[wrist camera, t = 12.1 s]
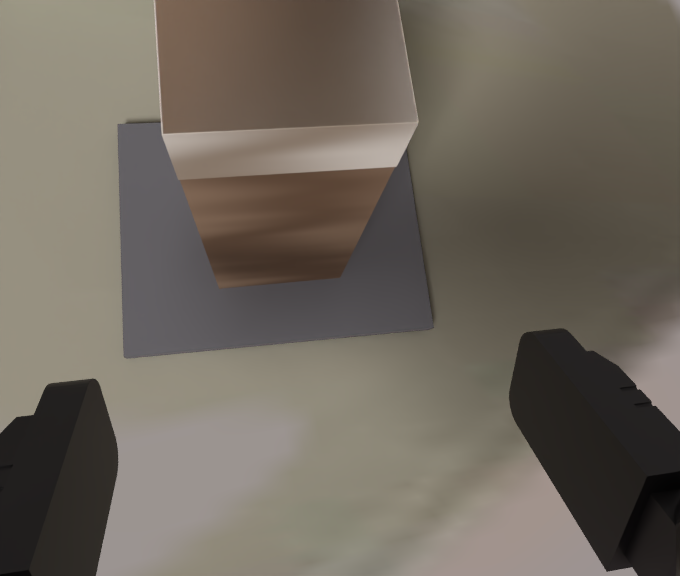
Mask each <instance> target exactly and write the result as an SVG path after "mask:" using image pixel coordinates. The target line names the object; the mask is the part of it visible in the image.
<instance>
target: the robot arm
mask: <svg viewBox="0 0 680 576" xmlns="http://www.w3.org/2000/svg"><path fill="white" fill-rule="evenodd" d="M509 401H510V408H511V412H512V415H513V418H514V420H515V422H516V424H517V425H518V427H519V429H520V430H521V432H522V434H523V435H524V437H525V439H526V440H527V442H528V443H529V445H530V447H531V448H532V450H533V452H534V453H535V455H536V457H537V458H538V460H539V461H540V463H541V465H542V466H543V468H544V470H545V471H546V473H547V475H548V476H549V478H550V479H551V481H552V483H553V484H554V486H555V488H556V489H557V491H558V492H559V494H560V496H561V497H562V499H563V501H564V502H565V504H566V505H567V507H568V509H569V511H570V512H571V514H572V515H573V517H574V519H575V520H576V522H577V524H578V525H579V527H580V528H581V530H582V532H583V533H584V535H585V537H586V538H587V540H588V541H589V543H590V545H591V547H592V548H593V550H594V551H595V553H596V555H597V556H598V558H599V560H600V561H601V563H602V564H603V566H604V568H605V569H606V571H613V570H618V569H624V568H630V567H633V569H634V570H635V572H636V573H637V575H638V576H680V431H679V430H678V429H677V428H676V427H675V426H674V425H673V424H672V423H671V422H670V421H669V420H668V419H667V418H666V416H665V415H664V414H663V413H662V412H661V411H660V410H659V409H658V408H657V407H656V406H652V404H651V400H650V399H649V398H648V397H646V395H645V394H644V393H643V392H642V391H641V390H637V388H636V385H635V383H634V382H633V381H632V380H631V379H630V378H629V377H628V376H627V375H626V374H625V373H624V372H623V371H622V370H621V369H620V368H619V366H617V365H615V364H614V363H612V362H610V361H609V360H607V359H606V358H604V357H602V356H601V355H599V354H597V353H596V352H594V351H586V350H585V349H584V348H583V347H582V346H581V345H580V344H579V342H578V341H577V340H576V339H575V338H574V337H573V336H572V335H571V334H570V333H569V332H568V331H567V330H566V329H551V330H542V331H533V332H526V333H524V334H523V335H522V337H521V339H520V343H519V348H518V352H517V357H516V362H515V367H514V372H513V377H512V381H511V386H510V392H509ZM117 471H118V448H117V442H116V438H115V434H114V431H113V428H112V424H111V421H110V418H109V414H108V411H107V408H106V404H105V401H104V398H103V395H102V391H101V388H100V385H99V383H98V381H97V380H96V379H86V380H77V381H68V382H59V383H51V384H48V385H47V386H46V388H45V390H44V392H43V394H42V396H41V399H40V401H39V404H38V406H37V408H36V411H35V413H34V415H31V416H22V417H16V418H15V419H14V420H13V421H12V422H11V423H10V424H9V425H8V426H7V427H6V428H5V429H4V430H3V431H2V432H1V433H0V576H96V572H97V567H98V562H99V558H100V553H101V548H102V543H103V539H104V534H105V529H106V524H107V520H108V514H109V510H110V505H111V500H112V496H113V491H114V486H115V481H116V477H117Z"/></svg>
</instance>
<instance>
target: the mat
mask: <svg viewBox="0 0 680 576" xmlns="http://www.w3.org/2000/svg"><path fill="white" fill-rule="evenodd" d="M118 158H119V196H120V234H121V272H122V310H123V348H124V357H125V358H137V357H148V356H158V355H168V354H179V353H189V352H200V351H210V350H221V349H231V348H241V347H252V346H262V345H273V344H283V343H293V342H304V341H314V340H325V339H335V338H346V337H356V336H366V335H377V334H387V333H398V332H408V331H418V330H429V329H432V328H434V326H433V320H432V313H431V307H430V300H429V294H428V287H427V281H426V274H425V268H424V261H423V255H422V248H421V242H420V235H419V229H418V222H417V216H416V209H415V203H414V196H413V189H412V183H411V176H410V170H409V163H408V157H407V150H406V149H405V151H404V153H403V155H402V157H401V159H400V161H399V163H398V165H397V167H395V168H394V170H393V172H392V174H391V176H390V178H389V180H388V182H387V184H386V186H385V188H384V190H383V192H382V194H381V196H380V198H379V200H378V202H377V204H376V206H375V208H374V210H373V212H372V214H371V216H370V218H369V220H368V222H367V224H366V226H365V228H364V230H363V233H362V235H361V237H360V239H359V241H358V243H357V245H356V247H355V249H354V251H353V253H352V255H351V257H350V259H349V261H348V263H347V265H346V267H345V269H344V271H343V273H342V275H341V277H340V278H333V279H322V280H310V281H299V282H288V283H277V284H266V285H255V286H244V287H233V288H222V289H219V287H218V284H217V281H216V279H215V276H214V273H213V270H212V267H211V265H210V262H209V259H208V256H207V254H206V251H205V248H204V245H203V243H202V240H201V237H200V234H199V232H198V229H197V226H196V223H195V221H194V218H193V215H192V212H191V210H190V207H189V204H188V201H187V198H186V196H185V193H184V190H183V187H182V185H181V182H180V180H178V178H177V175H176V172H175V170H174V167H173V164H172V162H171V159H170V156H169V153H168V151H167V148H166V145H165V143H164V140H163V137H162V131H161V123H134V124H118Z"/></svg>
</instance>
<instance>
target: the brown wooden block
mask: <svg viewBox="0 0 680 576" xmlns="http://www.w3.org/2000/svg"><path fill="white" fill-rule="evenodd" d="M154 9H155V27H156V44H157V61H158V79H159V96H160V113H161V131H162V137H163V140H164V143H165V145H166V148H167V151H168V153H169V156H170V159H171V162H172V164H173V167H174V170H175V172H176V175H177V178H178V180H180V182H181V185H182V187H183V190H184V193H185V196H186V198H187V201H188V204H189V207H190V210H191V212H192V215H193V218H194V221H195V223H196V226H197V229H198V232H199V234H200V237H201V240H202V243H203V245H204V248H205V251H206V254H207V256H208V259H209V262H210V265H211V267H212V270H213V273H214V276H215V279H216V281H217V284H218V287H219V289H222V288H233V287H244V286H255V285H266V284H277V283H288V282H299V281H310V280H322V279H333V278H340V277H341V275H342V273H343V271H344V269H345V267H346V265H347V263H348V261H349V259H350V257H351V255H352V253H353V251H354V249H355V247H356V245H357V243H358V241H359V239H360V237H361V235H362V233H363V230H364V228H365V226H366V224H367V222H368V220H369V218H370V216H371V214H372V212H373V210H374V208H375V206H376V204H377V202H378V200H379V198H380V196H381V194H382V192H383V190H384V188H385V186H386V184H387V182H388V180H389V178H390V176H391V174H392V172H393V170H394V168H395V167H397V165H398V163H399V161H400V159H401V157H402V155H403V153H404V151H405V149H406V147H407V145H408V143H409V141H410V139H411V137H412V135H413V133H414V131H415V129H416V127H417V125H418V123H419V121H418V115H417V110H416V104H415V98H414V92H413V86H412V80H411V75H410V69H409V63H408V57H407V51H406V46H405V40H404V34H403V28H402V22H401V17H400V11H399V5H398V0H154Z"/></svg>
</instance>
